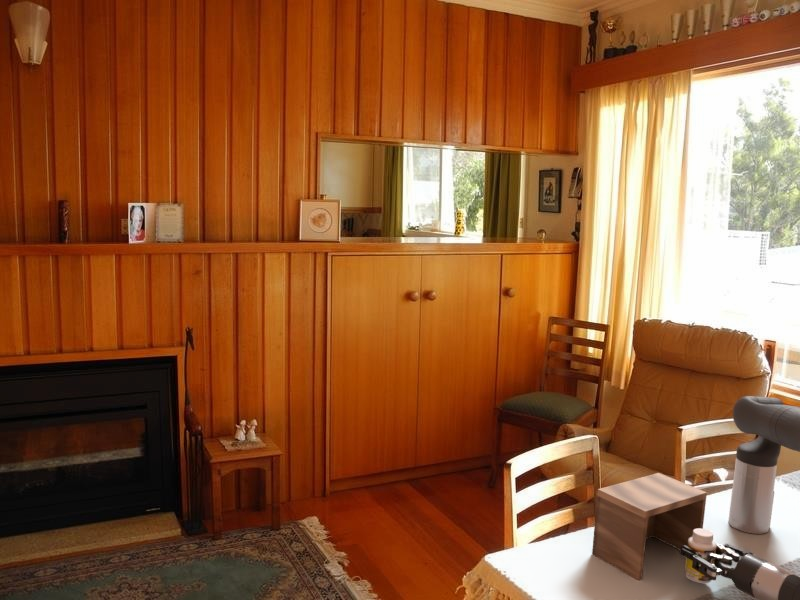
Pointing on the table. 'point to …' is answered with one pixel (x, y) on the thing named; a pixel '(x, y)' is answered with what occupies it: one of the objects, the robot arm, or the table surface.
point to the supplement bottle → (703, 544)
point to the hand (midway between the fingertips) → (690, 546)
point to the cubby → (644, 519)
